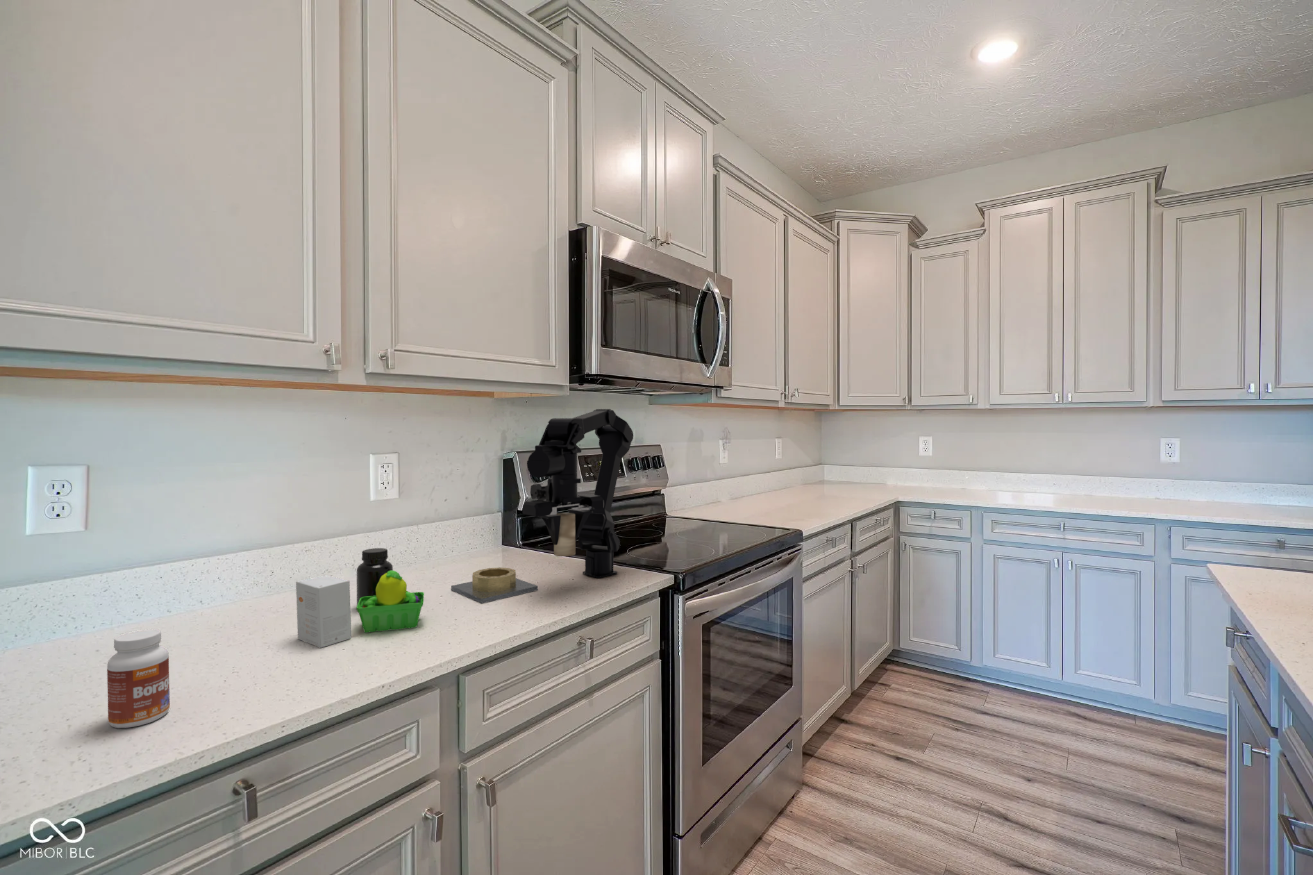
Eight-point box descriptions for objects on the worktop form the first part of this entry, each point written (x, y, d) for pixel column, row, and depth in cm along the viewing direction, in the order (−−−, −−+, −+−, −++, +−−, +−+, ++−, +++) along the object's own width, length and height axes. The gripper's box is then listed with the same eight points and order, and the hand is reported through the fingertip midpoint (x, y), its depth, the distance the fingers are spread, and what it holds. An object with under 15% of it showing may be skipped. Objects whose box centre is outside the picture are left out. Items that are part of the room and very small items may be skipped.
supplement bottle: (383, 613, 122) (382, 553, 121) (350, 612, 122) (349, 553, 122) (399, 602, 129) (398, 546, 128) (367, 602, 129) (366, 546, 128)
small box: (352, 639, 108) (350, 580, 107) (319, 648, 103) (318, 587, 103) (328, 630, 112) (327, 573, 112) (296, 639, 108) (295, 580, 107)
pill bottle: (136, 731, 76) (133, 644, 76) (95, 728, 77) (92, 641, 77) (182, 708, 82) (180, 627, 82) (143, 705, 83) (141, 625, 83)
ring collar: (505, 578, 148) (505, 562, 148) (537, 590, 138) (537, 572, 138) (451, 590, 138) (450, 572, 138) (481, 603, 128) (481, 584, 128)
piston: (567, 550, 140) (566, 512, 140) (579, 554, 137) (579, 514, 136) (549, 554, 137) (549, 514, 136) (562, 557, 133) (561, 516, 133)
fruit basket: (424, 616, 120) (423, 559, 120) (423, 631, 112) (422, 570, 111) (361, 622, 116) (360, 564, 116) (355, 638, 108) (354, 576, 108)
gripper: (576, 469, 148) (576, 532, 149) (508, 474, 135) (509, 543, 136) (605, 472, 140) (605, 539, 141) (536, 477, 127) (537, 551, 128)
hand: (564, 542), depth 137 cm, fingers closed on piston, 5 cm apart
